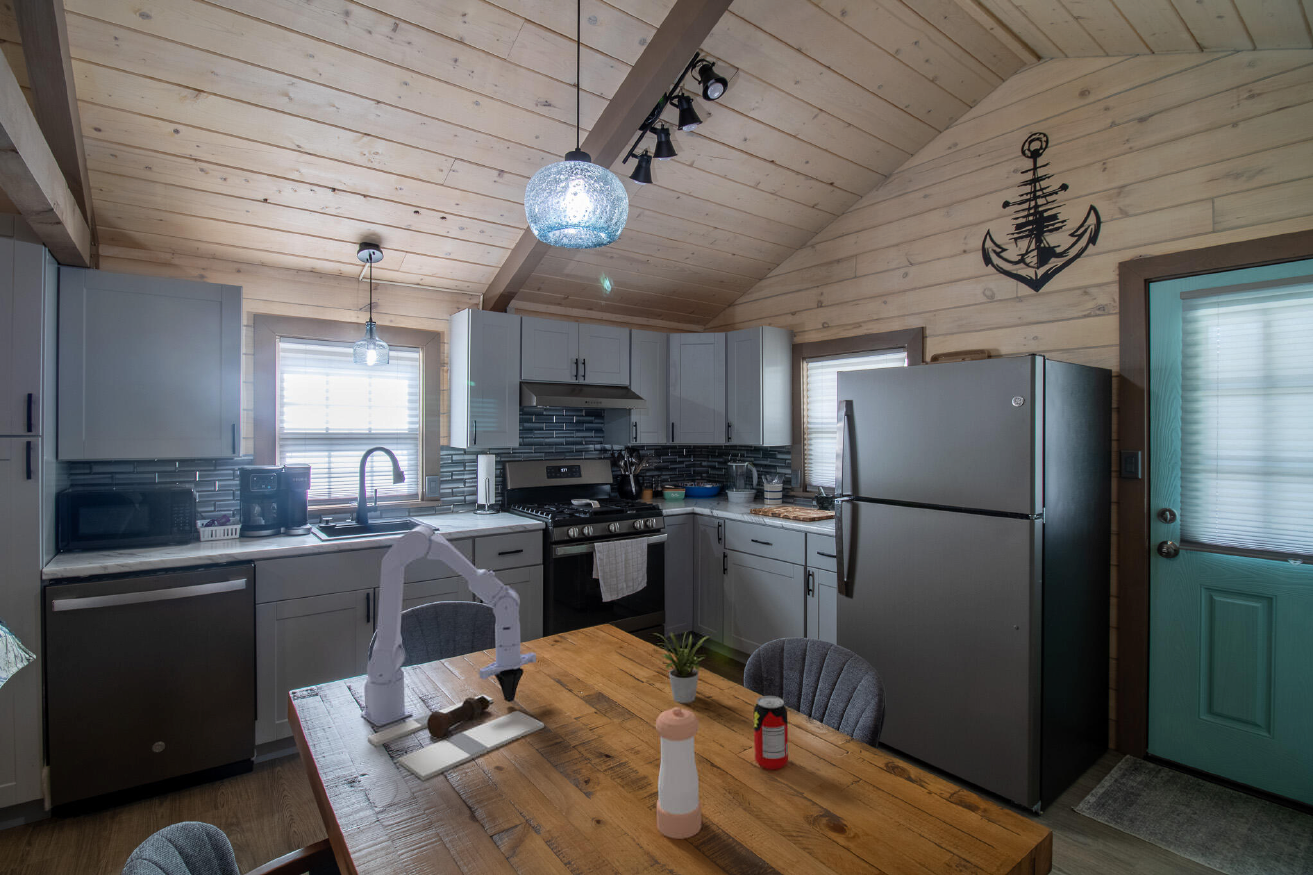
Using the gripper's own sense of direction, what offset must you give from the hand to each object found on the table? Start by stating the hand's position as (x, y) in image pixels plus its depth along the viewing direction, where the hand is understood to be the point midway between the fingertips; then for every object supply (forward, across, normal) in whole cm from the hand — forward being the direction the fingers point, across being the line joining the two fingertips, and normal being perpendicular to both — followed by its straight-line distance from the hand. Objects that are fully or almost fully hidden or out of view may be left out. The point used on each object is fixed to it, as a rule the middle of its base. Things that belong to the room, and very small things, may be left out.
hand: (509, 700), depth 151 cm
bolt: (+2, -12, +1) cm, 12 cm away
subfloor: (+1, -15, -3) cm, 16 cm away
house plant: (+2, +29, -28) cm, 40 cm away
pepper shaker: (+2, -8, -60) cm, 61 cm away
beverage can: (+2, +18, -61) cm, 64 cm away
